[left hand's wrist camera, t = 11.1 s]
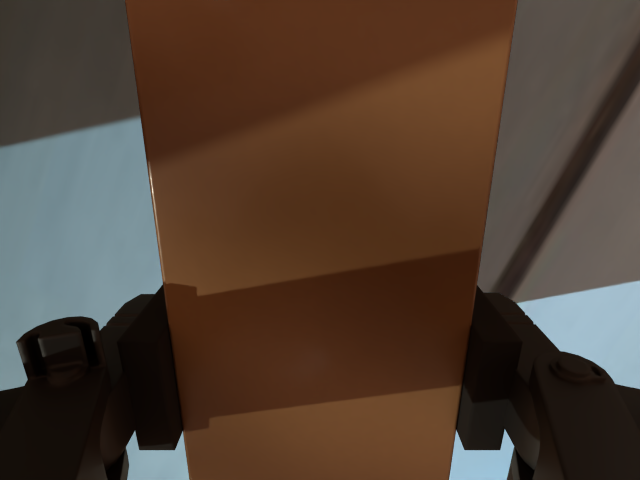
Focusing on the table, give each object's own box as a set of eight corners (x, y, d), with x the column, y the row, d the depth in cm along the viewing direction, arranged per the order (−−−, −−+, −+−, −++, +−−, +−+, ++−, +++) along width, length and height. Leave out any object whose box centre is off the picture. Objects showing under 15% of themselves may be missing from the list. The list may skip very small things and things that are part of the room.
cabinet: (228, -156, 13) (19, -751, 4) (413, -155, 13) (628, -744, 4) (255, 332, 19) (196, 543, 10) (382, 332, 19) (441, 542, 10)
